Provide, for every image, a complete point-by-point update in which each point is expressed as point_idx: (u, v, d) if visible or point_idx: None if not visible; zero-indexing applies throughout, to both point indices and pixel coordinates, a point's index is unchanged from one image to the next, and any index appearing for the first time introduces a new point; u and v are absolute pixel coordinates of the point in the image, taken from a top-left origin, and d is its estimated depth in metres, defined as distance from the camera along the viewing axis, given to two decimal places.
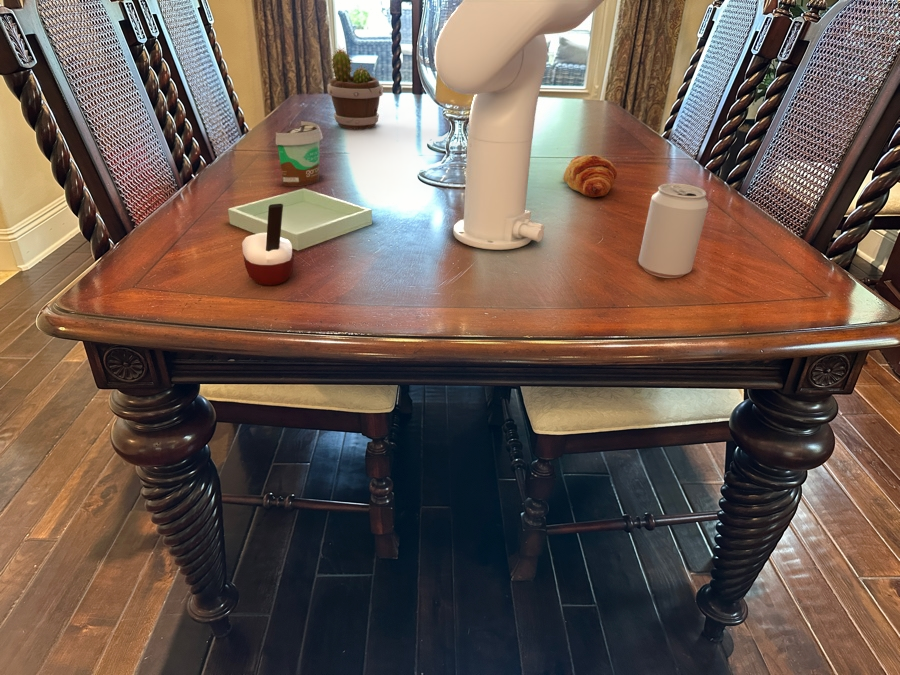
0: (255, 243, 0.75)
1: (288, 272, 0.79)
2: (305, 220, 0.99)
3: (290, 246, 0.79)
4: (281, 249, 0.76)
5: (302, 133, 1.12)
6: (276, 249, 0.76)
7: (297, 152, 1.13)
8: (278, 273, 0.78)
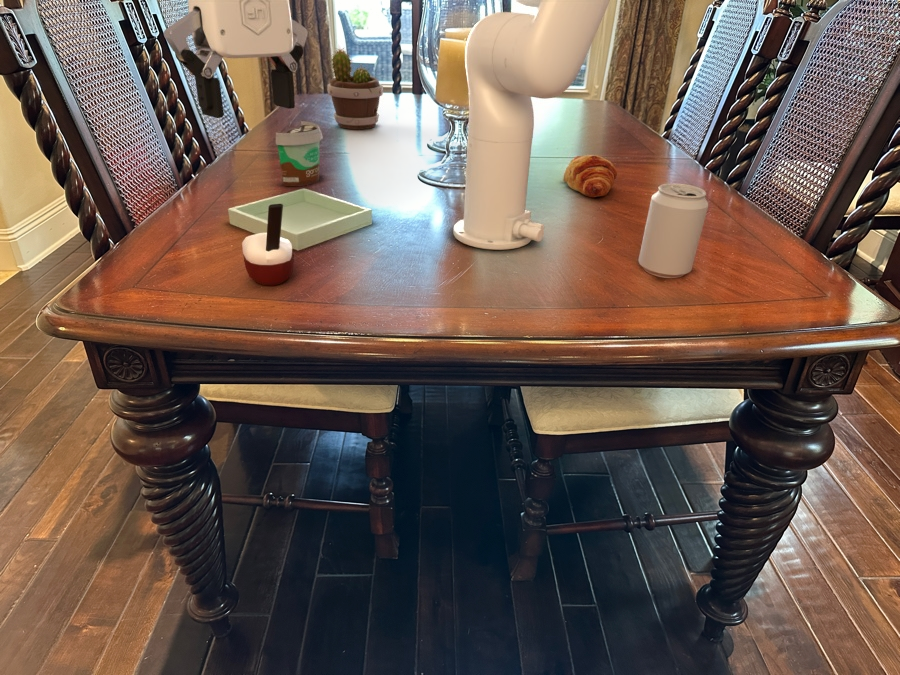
0: (255, 243, 0.75)
1: (288, 272, 0.79)
2: (305, 220, 0.99)
3: (290, 246, 0.79)
4: (281, 249, 0.76)
5: (302, 133, 1.12)
6: (276, 249, 0.76)
7: (297, 152, 1.13)
8: (278, 273, 0.78)
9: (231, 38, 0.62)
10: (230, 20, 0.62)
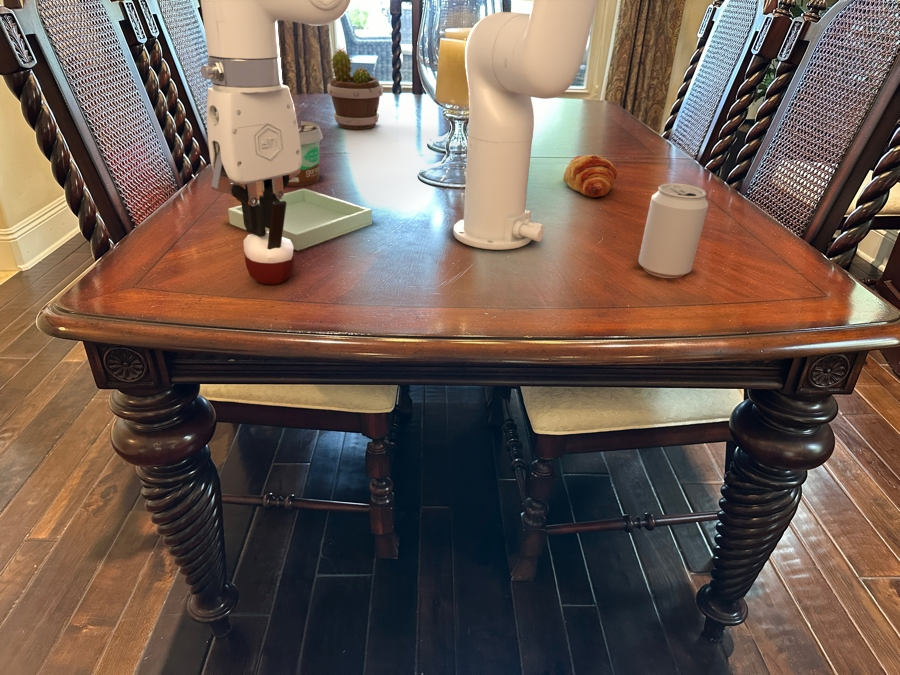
0: (257, 241, 0.75)
1: (288, 271, 0.79)
2: (305, 220, 0.99)
3: (291, 246, 0.79)
4: (282, 248, 0.77)
5: (302, 133, 1.12)
6: (278, 248, 0.76)
7: None
8: (279, 271, 0.78)
9: (247, 167, 0.69)
10: (246, 152, 0.68)
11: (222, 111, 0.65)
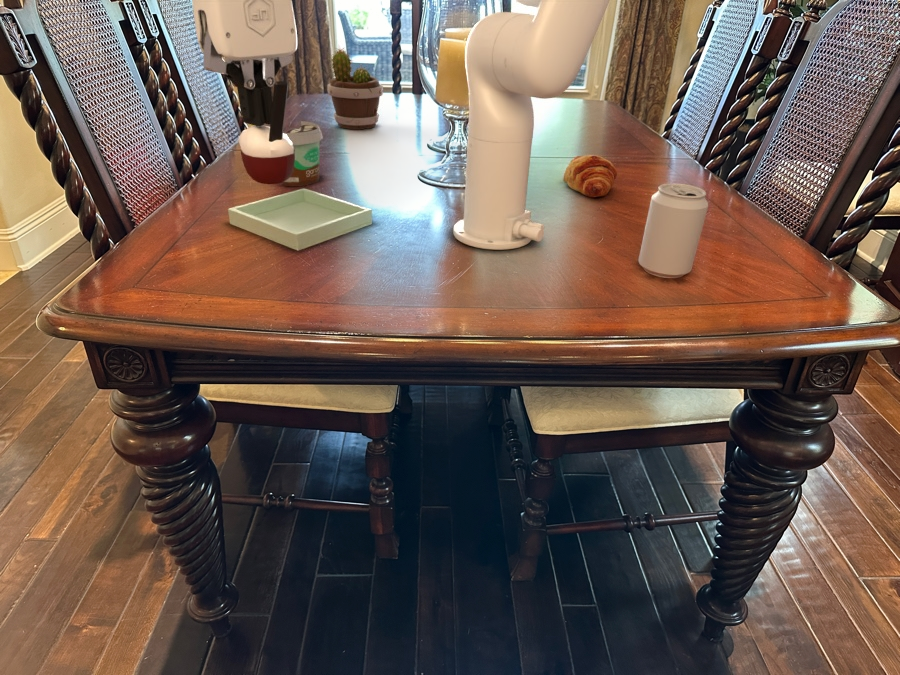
0: (257, 134, 0.70)
1: (291, 168, 0.74)
2: (305, 220, 0.99)
3: (290, 140, 0.74)
4: (284, 140, 0.71)
5: (302, 133, 1.12)
6: (280, 140, 0.71)
7: (297, 152, 1.13)
8: (283, 167, 0.72)
9: (236, 40, 0.63)
10: (235, 23, 0.62)
11: None
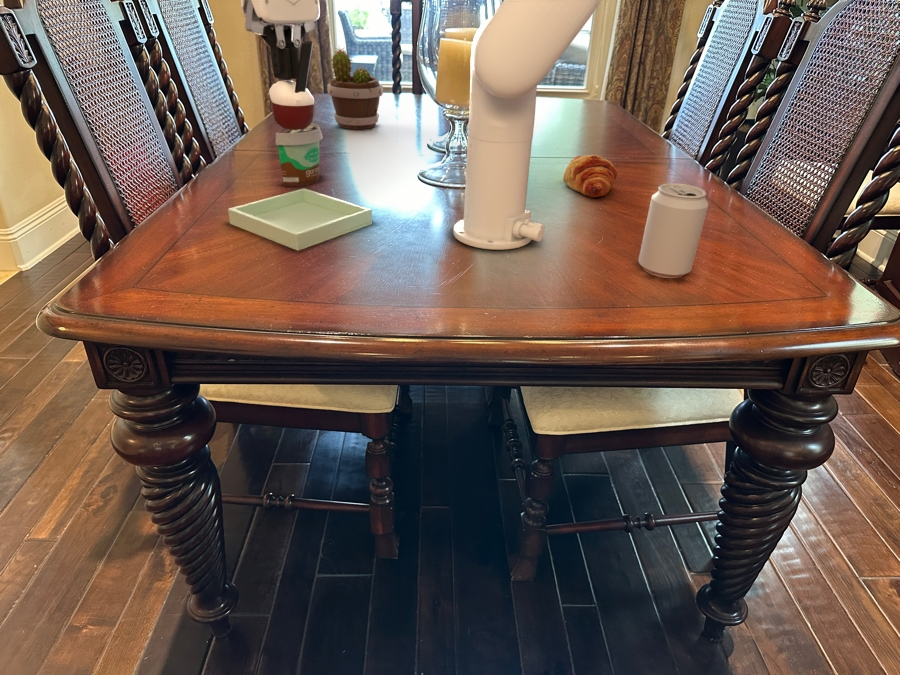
0: (285, 85, 0.85)
1: (312, 116, 0.89)
2: (305, 220, 0.99)
3: None
4: (307, 92, 0.87)
5: (302, 133, 1.12)
6: (303, 91, 0.86)
7: (297, 152, 1.13)
8: (305, 115, 0.88)
9: (273, 7, 0.78)
10: None
11: None
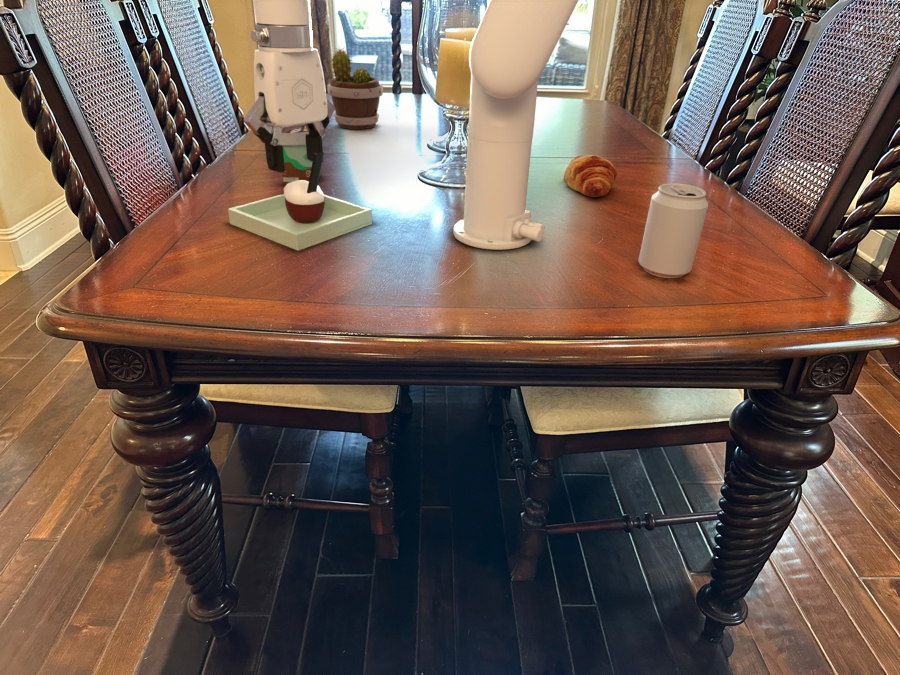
0: (298, 187, 0.94)
1: (322, 211, 0.98)
2: None
3: (321, 190, 0.98)
4: (318, 192, 0.95)
5: (302, 133, 1.12)
6: (315, 192, 0.95)
7: (297, 152, 1.13)
8: (316, 211, 0.97)
9: (285, 113, 0.86)
10: (285, 101, 0.86)
11: (267, 67, 0.83)
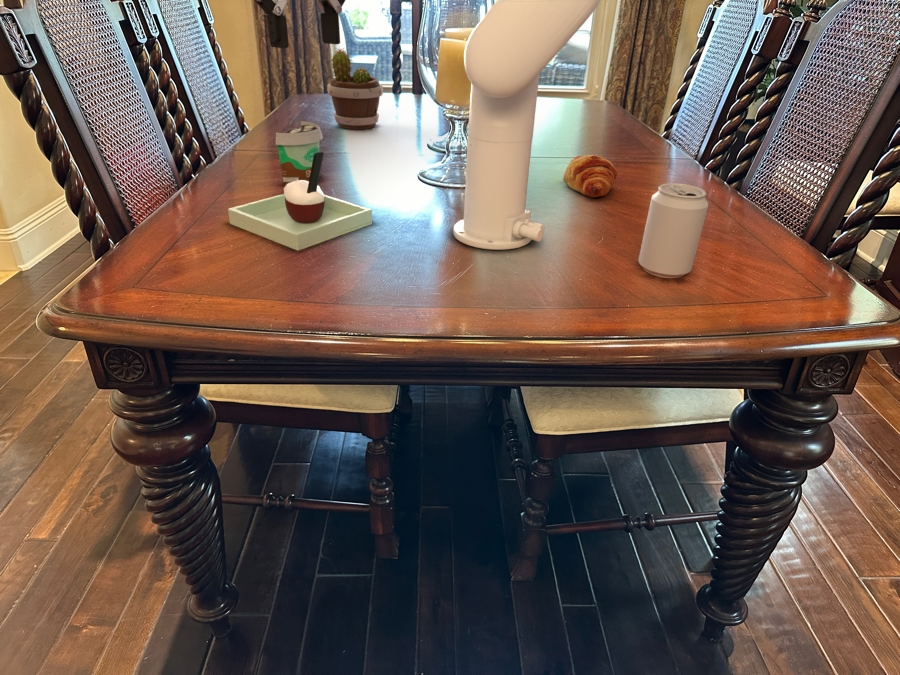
0: (298, 187, 0.94)
1: (322, 211, 0.98)
2: None
3: (321, 190, 0.98)
4: (318, 192, 0.95)
5: (302, 133, 1.12)
6: (315, 192, 0.95)
7: (297, 152, 1.13)
8: (316, 211, 0.97)
9: None
10: None
11: None
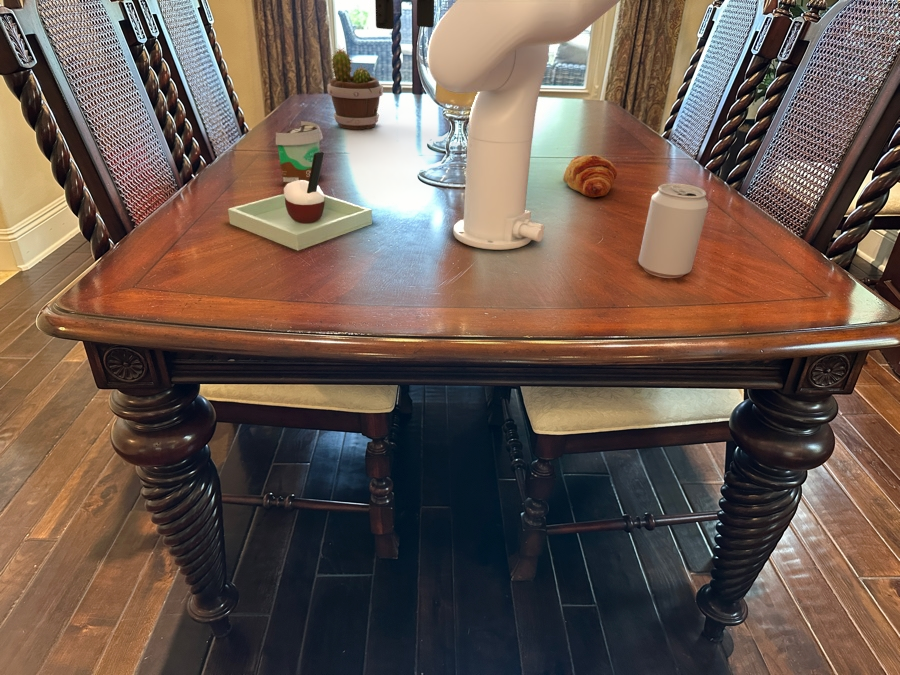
0: (298, 187, 0.94)
1: (322, 211, 0.98)
2: None
3: (321, 190, 0.98)
4: (318, 192, 0.95)
5: (302, 133, 1.12)
6: (315, 192, 0.95)
7: (297, 152, 1.13)
8: (316, 211, 0.97)
9: None
10: None
11: None
